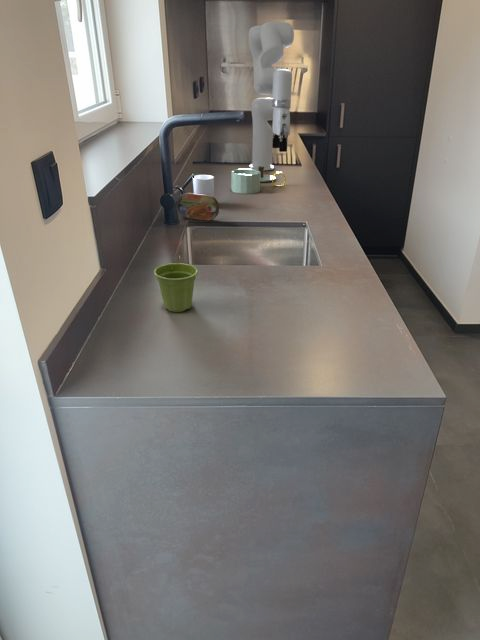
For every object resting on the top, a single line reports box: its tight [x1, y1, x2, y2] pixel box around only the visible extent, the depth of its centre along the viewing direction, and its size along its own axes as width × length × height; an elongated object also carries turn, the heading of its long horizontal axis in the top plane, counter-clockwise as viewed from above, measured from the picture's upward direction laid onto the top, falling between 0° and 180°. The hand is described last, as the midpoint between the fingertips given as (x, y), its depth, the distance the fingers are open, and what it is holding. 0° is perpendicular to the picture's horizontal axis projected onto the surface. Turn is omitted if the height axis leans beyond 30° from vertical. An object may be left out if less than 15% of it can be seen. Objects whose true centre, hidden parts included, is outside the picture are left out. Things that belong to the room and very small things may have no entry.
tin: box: [176, 192, 220, 222], centre depth 169 cm, size 15×3×8 cm, turn 70°
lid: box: [258, 166, 276, 183], centre depth 225 cm, size 13×13×6 cm
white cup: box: [192, 174, 215, 197], centre depth 185 cm, size 8×8×10 cm
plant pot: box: [153, 262, 199, 313], centre depth 110 cm, size 9×9×9 cm
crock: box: [230, 168, 261, 195], centre depth 206 cm, size 12×12×8 cm
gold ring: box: [271, 171, 287, 188], centre depth 215 cm, size 6×3×6 cm, turn 95°
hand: (279, 149), depth 209 cm, fingers open, 9 cm apart
